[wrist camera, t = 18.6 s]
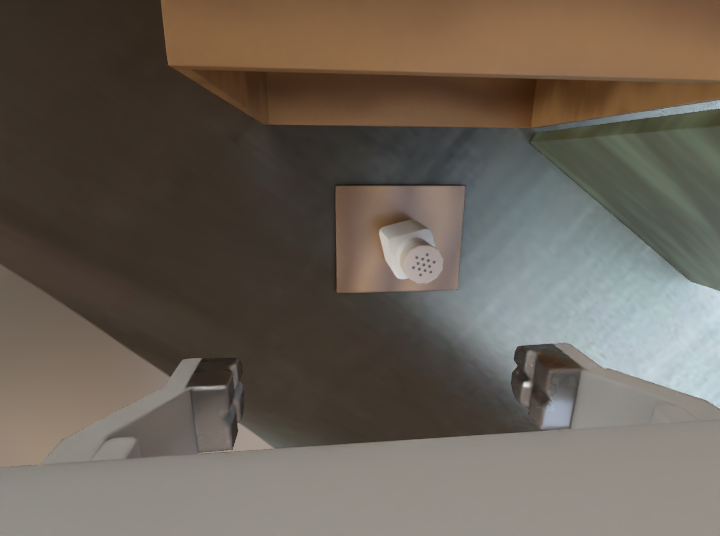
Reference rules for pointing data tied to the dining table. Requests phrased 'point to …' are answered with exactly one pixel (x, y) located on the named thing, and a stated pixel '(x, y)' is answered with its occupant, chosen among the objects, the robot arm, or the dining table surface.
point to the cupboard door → (653, 182)
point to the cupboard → (446, 59)
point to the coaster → (386, 207)
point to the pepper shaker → (411, 251)
